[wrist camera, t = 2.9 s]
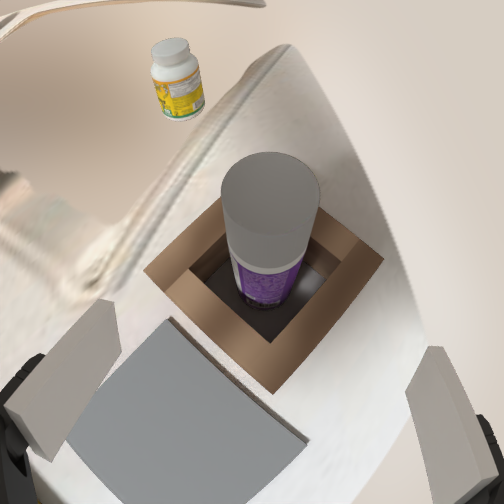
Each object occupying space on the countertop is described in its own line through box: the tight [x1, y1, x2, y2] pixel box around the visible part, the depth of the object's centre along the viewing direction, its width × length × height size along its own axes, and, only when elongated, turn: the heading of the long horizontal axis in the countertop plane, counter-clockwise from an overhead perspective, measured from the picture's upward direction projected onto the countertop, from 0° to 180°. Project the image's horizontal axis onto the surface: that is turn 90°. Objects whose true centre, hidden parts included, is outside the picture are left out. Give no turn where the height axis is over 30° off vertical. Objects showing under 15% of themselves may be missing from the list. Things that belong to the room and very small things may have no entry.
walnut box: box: [143, 197, 384, 395], centre depth 26 cm, size 13×13×5 cm
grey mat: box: [65, 319, 307, 504], centre depth 23 cm, size 16×16×1 cm
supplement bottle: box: [151, 38, 205, 121], centre depth 32 cm, size 5×5×10 cm
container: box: [221, 152, 320, 311], centre depth 21 cm, size 5×5×15 cm
